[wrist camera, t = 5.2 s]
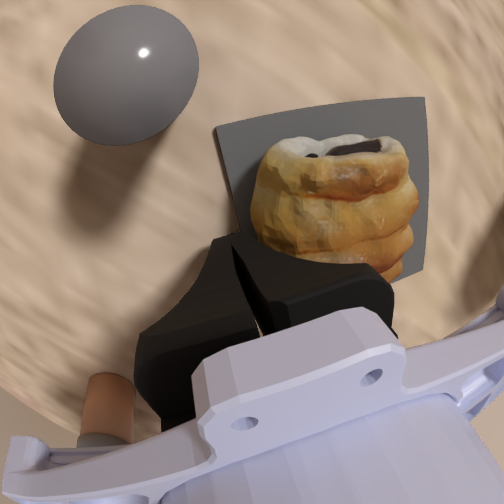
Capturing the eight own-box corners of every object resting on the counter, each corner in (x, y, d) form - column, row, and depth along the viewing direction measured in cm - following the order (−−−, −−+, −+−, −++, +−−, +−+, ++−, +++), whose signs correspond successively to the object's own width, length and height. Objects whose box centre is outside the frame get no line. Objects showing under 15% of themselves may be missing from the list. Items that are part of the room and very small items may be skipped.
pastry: (379, 295, 16) (416, 338, 13) (266, 330, 15) (287, 386, 12) (384, 125, 12) (445, 140, 8) (233, 143, 11) (257, 161, 7)
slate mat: (420, 268, 16) (422, 269, 16) (265, 326, 15) (266, 328, 15) (421, 96, 11) (424, 97, 11) (215, 126, 10) (215, 127, 10)
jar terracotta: (145, 398, 16) (146, 468, 12) (104, 405, 16) (99, 471, 12) (120, 367, 15) (114, 444, 10) (76, 375, 14) (64, 447, 10)
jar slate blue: (201, 114, 10) (214, 119, 6) (119, 141, 10) (74, 167, 6) (181, 37, 9) (182, -12, 4) (98, 64, 8) (42, 41, 4)
